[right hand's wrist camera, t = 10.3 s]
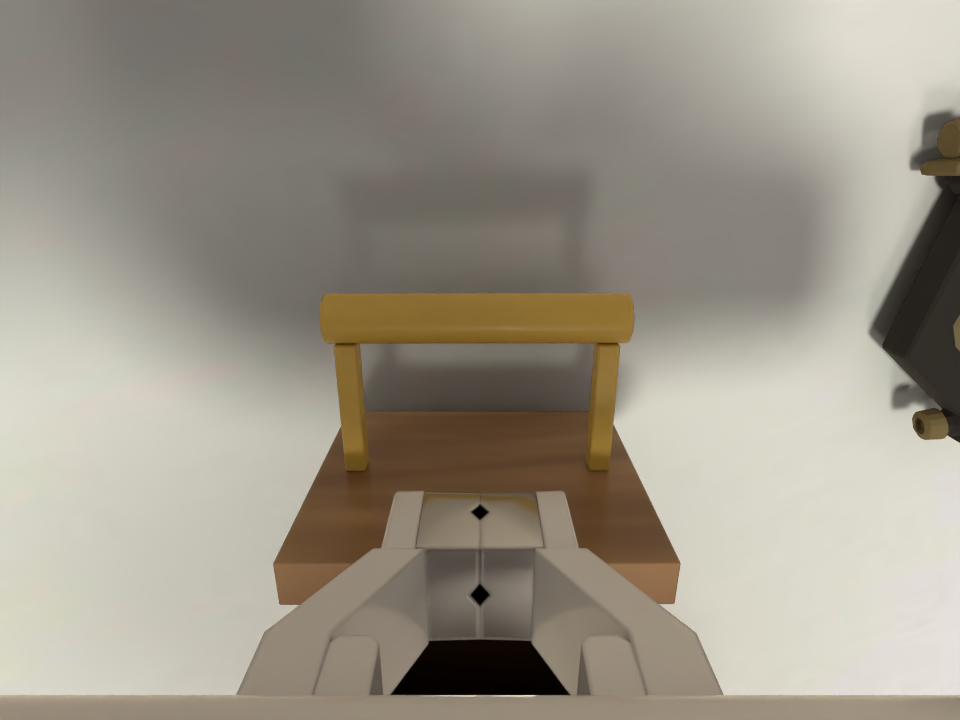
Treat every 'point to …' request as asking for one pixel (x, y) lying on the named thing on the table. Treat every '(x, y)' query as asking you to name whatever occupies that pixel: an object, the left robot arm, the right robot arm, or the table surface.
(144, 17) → the table surface
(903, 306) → the spray gun
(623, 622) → the right robot arm
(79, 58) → the table surface
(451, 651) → the drawer
